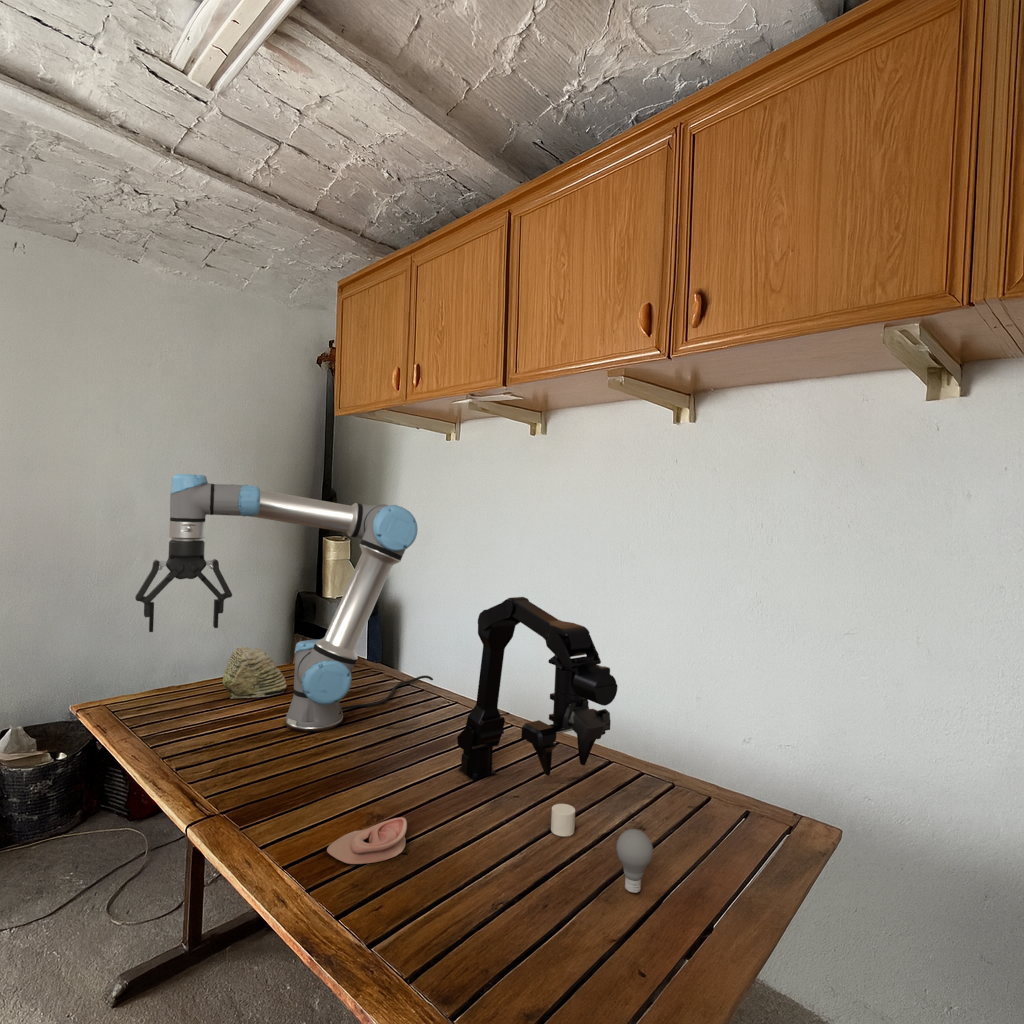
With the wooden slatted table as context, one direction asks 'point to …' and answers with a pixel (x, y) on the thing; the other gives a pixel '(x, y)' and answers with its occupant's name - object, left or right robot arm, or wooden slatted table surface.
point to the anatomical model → (371, 843)
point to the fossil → (252, 674)
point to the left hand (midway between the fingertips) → (184, 629)
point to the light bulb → (634, 857)
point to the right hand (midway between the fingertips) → (565, 769)
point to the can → (563, 820)
